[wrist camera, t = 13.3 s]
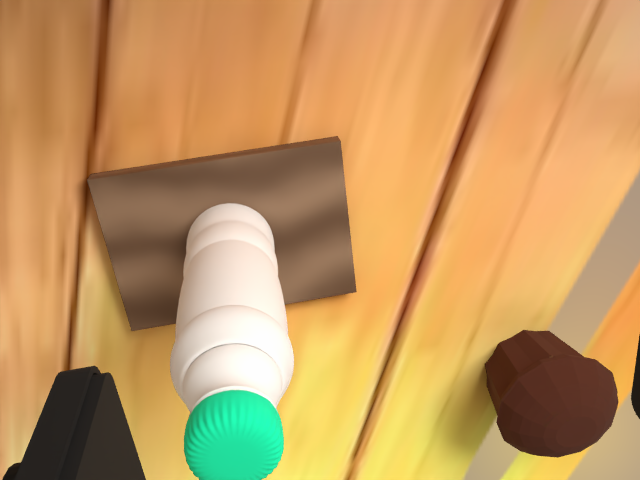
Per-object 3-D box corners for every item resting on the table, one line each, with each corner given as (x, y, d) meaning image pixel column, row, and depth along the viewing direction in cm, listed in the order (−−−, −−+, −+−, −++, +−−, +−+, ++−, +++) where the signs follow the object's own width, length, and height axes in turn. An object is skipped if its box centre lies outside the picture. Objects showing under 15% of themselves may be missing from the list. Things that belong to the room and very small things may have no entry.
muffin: (474, 419, 65) (515, 493, 56) (466, 334, 60) (508, 399, 51) (580, 393, 65) (637, 461, 56) (580, 307, 61) (642, 366, 52)
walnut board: (90, 173, 48) (87, 180, 47) (337, 136, 50) (340, 140, 49) (133, 322, 54) (131, 331, 53) (353, 284, 56) (356, 292, 55)
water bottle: (271, 198, 50) (309, 390, 27) (274, 274, 53) (310, 505, 30) (183, 202, 49) (147, 404, 26) (191, 280, 52) (164, 522, 29)
